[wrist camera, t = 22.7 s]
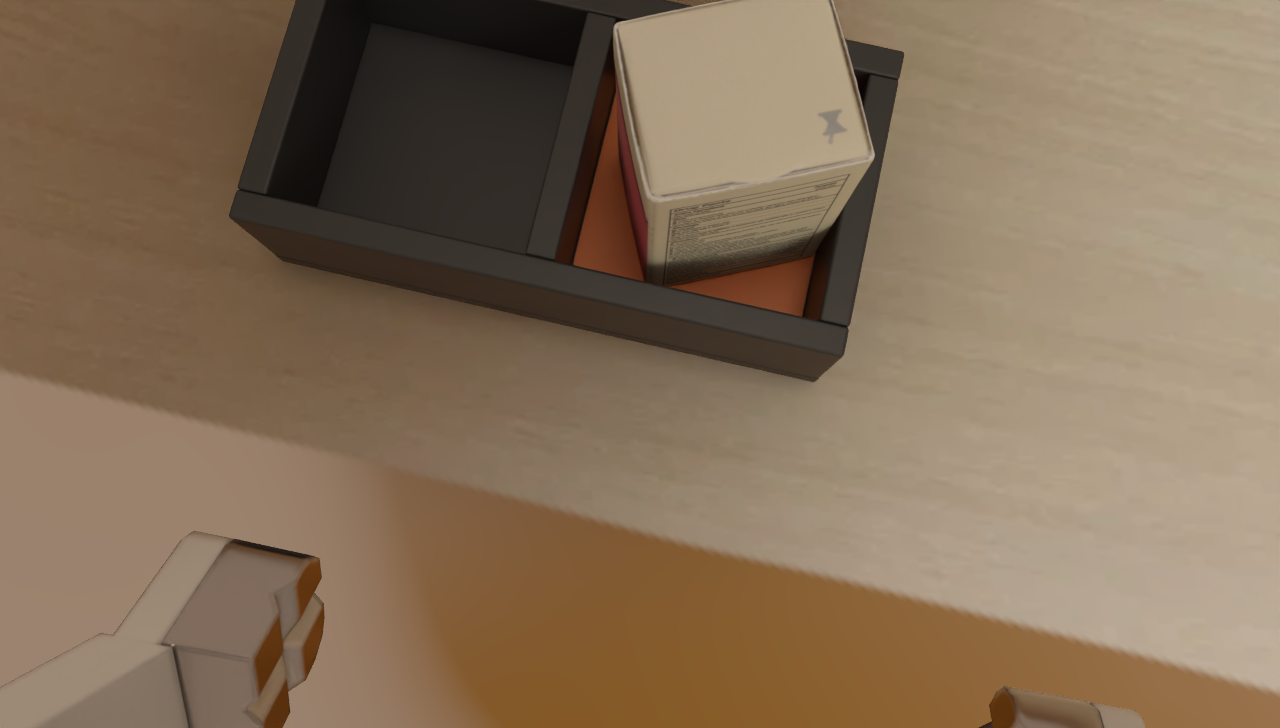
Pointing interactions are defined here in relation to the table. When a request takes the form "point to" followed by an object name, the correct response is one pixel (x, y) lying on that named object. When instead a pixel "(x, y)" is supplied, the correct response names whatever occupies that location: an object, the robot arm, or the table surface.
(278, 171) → the holder
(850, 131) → the small box
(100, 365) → the table surface
